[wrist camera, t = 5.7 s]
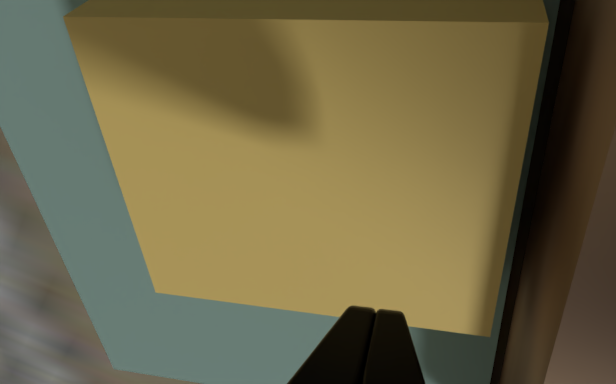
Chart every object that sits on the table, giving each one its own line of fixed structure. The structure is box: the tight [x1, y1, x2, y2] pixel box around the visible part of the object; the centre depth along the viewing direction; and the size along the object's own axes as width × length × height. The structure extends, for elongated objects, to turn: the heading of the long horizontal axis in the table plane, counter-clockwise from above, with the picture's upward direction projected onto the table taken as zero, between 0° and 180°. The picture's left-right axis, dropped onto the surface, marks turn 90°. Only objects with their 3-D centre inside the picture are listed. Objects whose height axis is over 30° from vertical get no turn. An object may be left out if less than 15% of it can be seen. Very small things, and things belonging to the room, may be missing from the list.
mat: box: [0, 0, 560, 384], centre depth 13 cm, size 20×13×1 cm, turn 5°
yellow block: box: [63, 0, 549, 337], centre depth 12 cm, size 7×8×2 cm
